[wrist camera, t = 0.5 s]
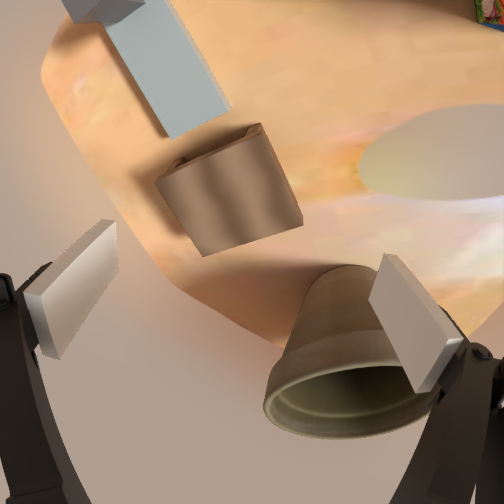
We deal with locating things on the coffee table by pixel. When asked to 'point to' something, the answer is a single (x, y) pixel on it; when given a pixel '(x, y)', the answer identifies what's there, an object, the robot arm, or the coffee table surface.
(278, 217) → the open brown box
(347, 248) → the coffee table surface
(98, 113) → the coffee table surface
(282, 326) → the coffee table surface
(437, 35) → the coffee table surface
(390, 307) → the robot arm
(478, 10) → the blue food package
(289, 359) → the plant pot
